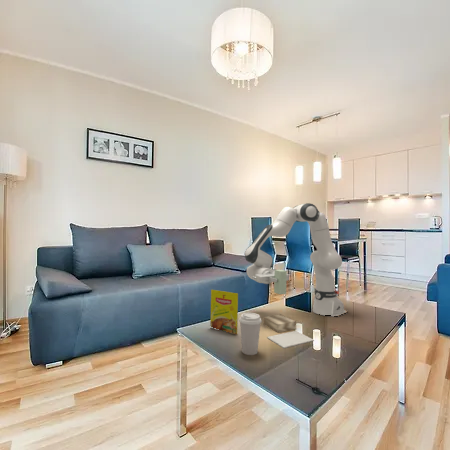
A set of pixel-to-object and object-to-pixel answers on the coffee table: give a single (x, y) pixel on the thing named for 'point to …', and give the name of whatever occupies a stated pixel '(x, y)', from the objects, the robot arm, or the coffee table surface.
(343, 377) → the coffee table surface
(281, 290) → the sage green pillar
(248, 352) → the coffee cup
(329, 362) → the coffee table surface
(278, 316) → the plate
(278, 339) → the rubber mat
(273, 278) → the robot arm
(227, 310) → the food package
